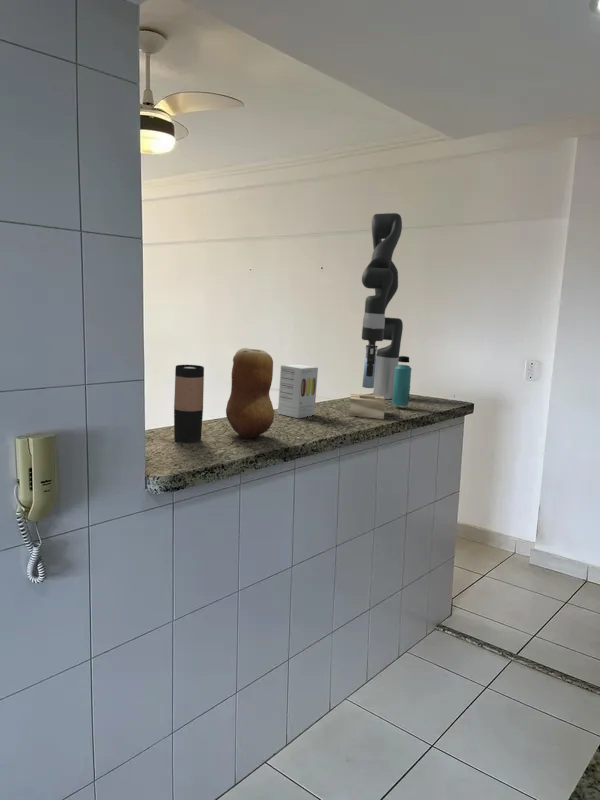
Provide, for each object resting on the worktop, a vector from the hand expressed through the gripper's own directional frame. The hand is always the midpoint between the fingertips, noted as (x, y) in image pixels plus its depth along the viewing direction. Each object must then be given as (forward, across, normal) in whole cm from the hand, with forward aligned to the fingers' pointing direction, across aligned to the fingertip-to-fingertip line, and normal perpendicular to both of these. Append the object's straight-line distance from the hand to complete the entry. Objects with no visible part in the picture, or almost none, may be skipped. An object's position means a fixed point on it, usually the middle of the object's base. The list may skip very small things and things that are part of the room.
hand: (369, 375), depth 209 cm
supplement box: (+14, +11, -24) cm, 30 cm away
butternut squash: (+15, +47, -34) cm, 60 cm away
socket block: (+14, 0, 0) cm, 14 cm away
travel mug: (+15, +56, -49) cm, 76 cm away
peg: (+4, 0, 0) cm, 4 cm away
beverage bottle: (+14, -17, +13) cm, 26 cm away
